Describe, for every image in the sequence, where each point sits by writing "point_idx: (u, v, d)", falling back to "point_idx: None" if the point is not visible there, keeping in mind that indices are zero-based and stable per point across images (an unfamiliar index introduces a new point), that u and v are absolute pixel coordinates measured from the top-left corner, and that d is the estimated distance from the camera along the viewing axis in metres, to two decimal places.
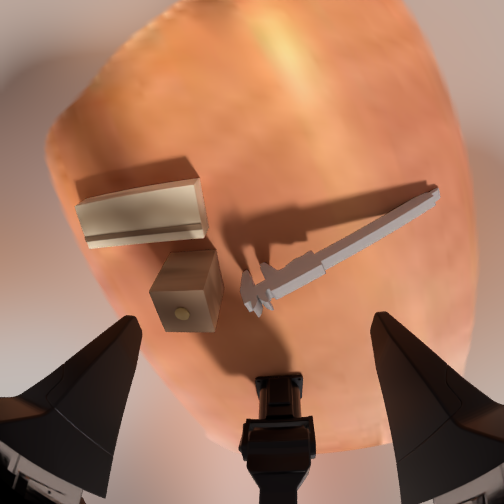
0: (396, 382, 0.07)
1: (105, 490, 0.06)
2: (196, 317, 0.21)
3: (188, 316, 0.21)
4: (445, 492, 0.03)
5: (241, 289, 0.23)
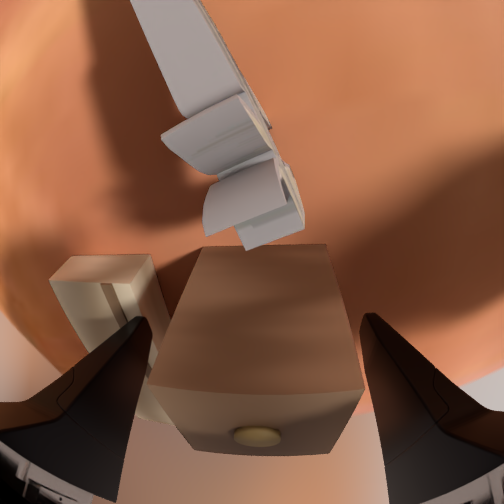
0: (383, 384, 0.07)
1: (116, 494, 0.05)
2: (278, 419, 0.05)
3: (266, 432, 0.06)
4: (431, 498, 0.03)
5: None
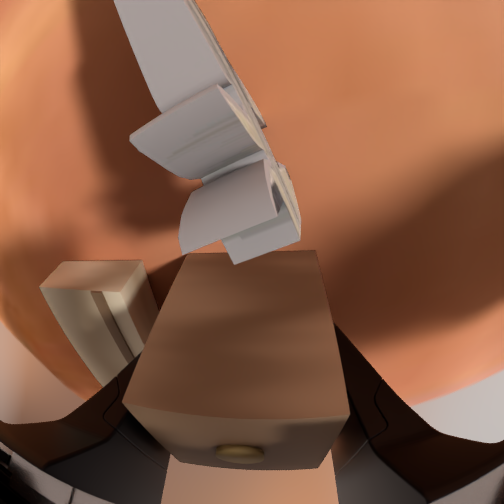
0: None
1: None
2: (259, 439, 0.05)
3: (248, 451, 0.05)
4: None
5: None
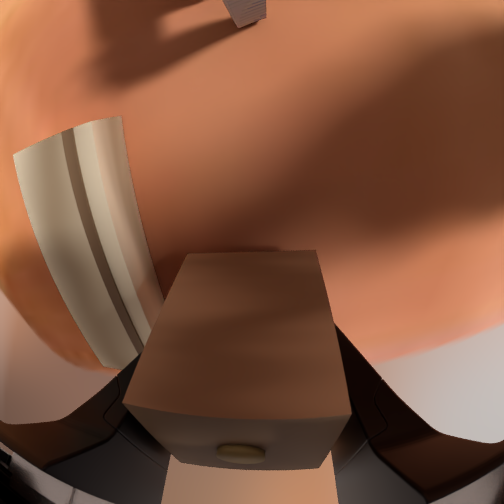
0: None
1: None
2: (260, 440, 0.05)
3: (249, 451, 0.05)
4: None
5: None
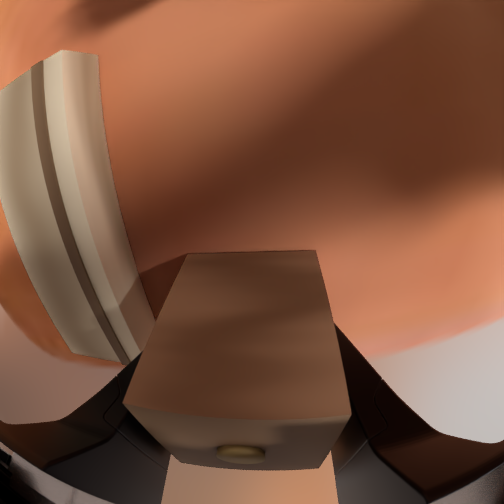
0: None
1: None
2: (260, 440, 0.05)
3: (249, 452, 0.05)
4: None
5: None
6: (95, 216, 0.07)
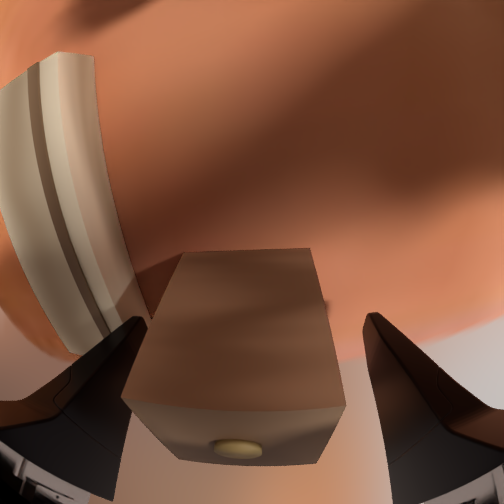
0: (387, 384, 0.07)
1: (113, 493, 0.05)
2: (257, 433, 0.05)
3: (246, 446, 0.05)
4: (435, 496, 0.03)
5: None
6: (91, 216, 0.07)
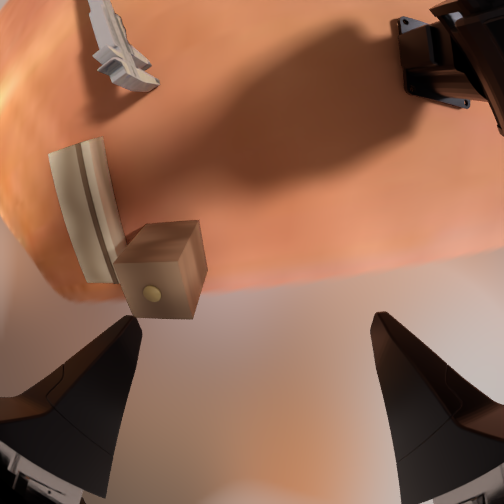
0: (396, 382, 0.07)
1: (105, 490, 0.06)
2: (155, 279, 0.16)
3: (153, 288, 0.16)
4: (445, 492, 0.03)
5: None
6: (106, 207, 0.18)
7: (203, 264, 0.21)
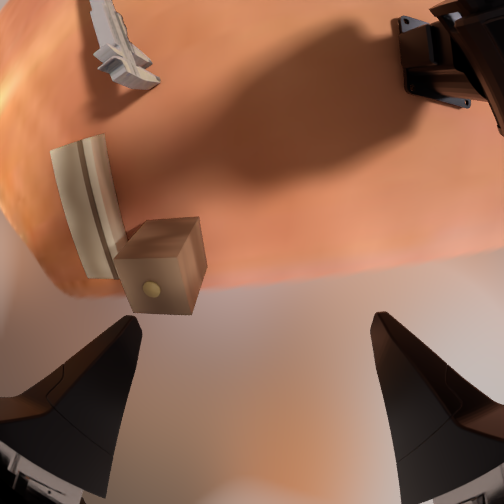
0: (396, 382, 0.07)
1: (105, 490, 0.06)
2: (155, 275, 0.16)
3: (152, 283, 0.16)
4: (445, 492, 0.03)
5: (131, 87, 0.13)
6: (107, 203, 0.18)
7: (203, 260, 0.21)
